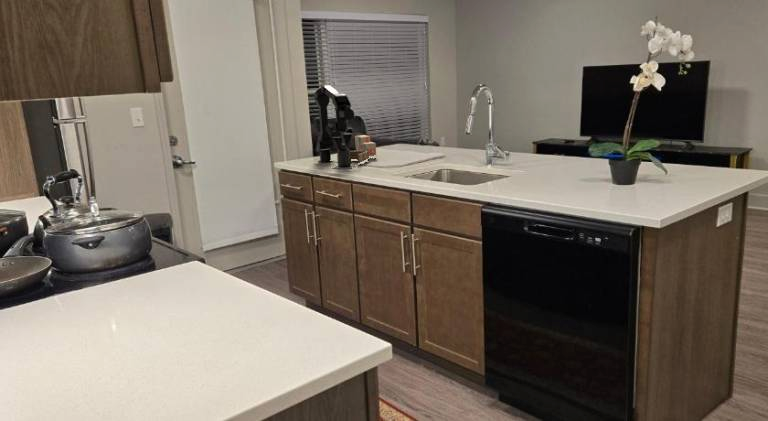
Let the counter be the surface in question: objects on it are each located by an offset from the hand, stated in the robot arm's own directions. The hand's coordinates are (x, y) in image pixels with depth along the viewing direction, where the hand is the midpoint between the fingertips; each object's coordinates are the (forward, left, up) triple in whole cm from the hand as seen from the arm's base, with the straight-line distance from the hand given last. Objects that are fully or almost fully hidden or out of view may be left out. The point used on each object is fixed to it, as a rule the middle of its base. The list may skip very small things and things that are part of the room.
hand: (343, 148), depth 304 cm
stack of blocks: (-20, +30, -10) cm, 37 cm away
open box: (-6, +10, -10) cm, 16 cm away
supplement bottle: (0, 0, -10) cm, 10 cm away
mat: (0, 0, -10) cm, 10 cm away
